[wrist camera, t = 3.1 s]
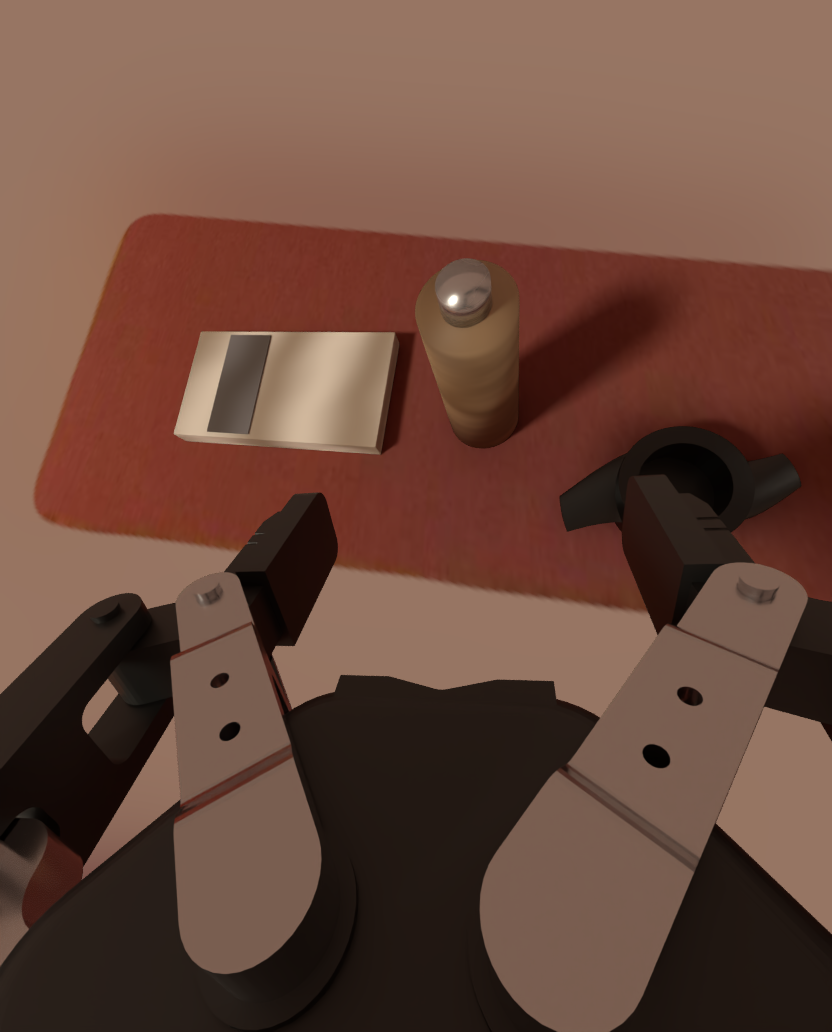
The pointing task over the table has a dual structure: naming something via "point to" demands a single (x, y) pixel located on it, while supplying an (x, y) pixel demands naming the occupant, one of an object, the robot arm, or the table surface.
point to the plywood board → (290, 390)
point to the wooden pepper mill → (473, 347)
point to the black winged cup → (683, 478)
